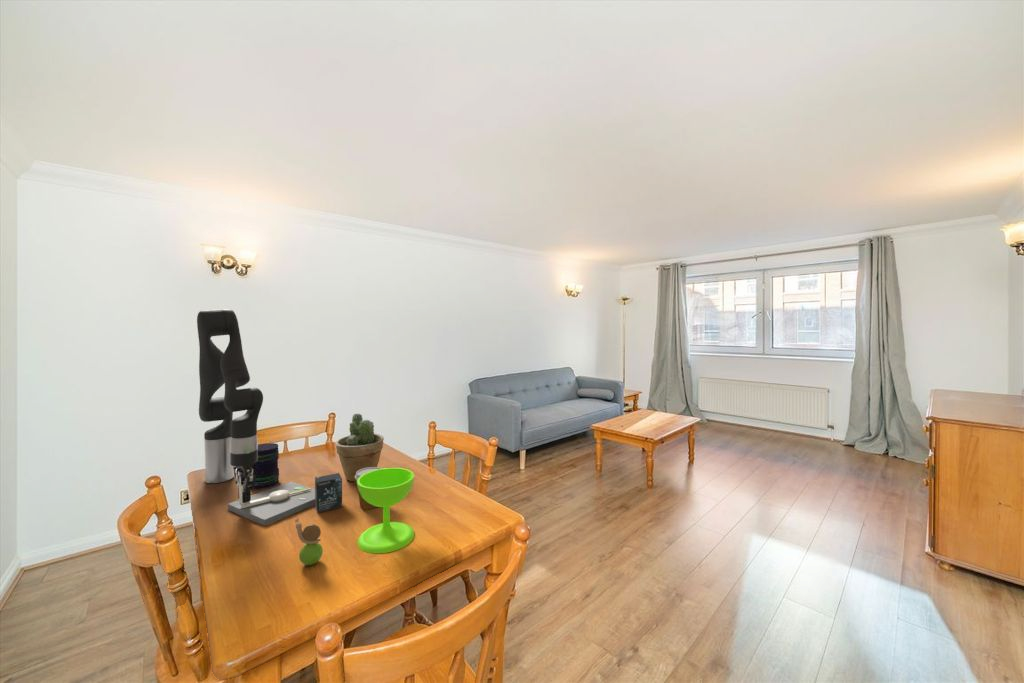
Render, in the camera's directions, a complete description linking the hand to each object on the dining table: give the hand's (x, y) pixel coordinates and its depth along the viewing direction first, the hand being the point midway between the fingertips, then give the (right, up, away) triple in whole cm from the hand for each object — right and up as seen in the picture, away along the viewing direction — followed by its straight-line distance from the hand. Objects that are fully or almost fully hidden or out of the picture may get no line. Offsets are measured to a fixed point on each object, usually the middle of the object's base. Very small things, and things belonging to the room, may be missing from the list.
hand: (244, 499), depth 130 cm
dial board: (+7, -4, +7) cm, 11 cm away
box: (+26, -5, +5) cm, 27 cm away
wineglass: (+52, -6, -14) cm, 54 cm away
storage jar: (-8, -4, +24) cm, 25 cm away
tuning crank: (+7, -2, +7) cm, 10 cm away
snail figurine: (+35, -6, -27) cm, 45 cm away
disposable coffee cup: (+39, -5, +6) cm, 40 cm away
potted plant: (+26, -4, +32) cm, 41 cm away
